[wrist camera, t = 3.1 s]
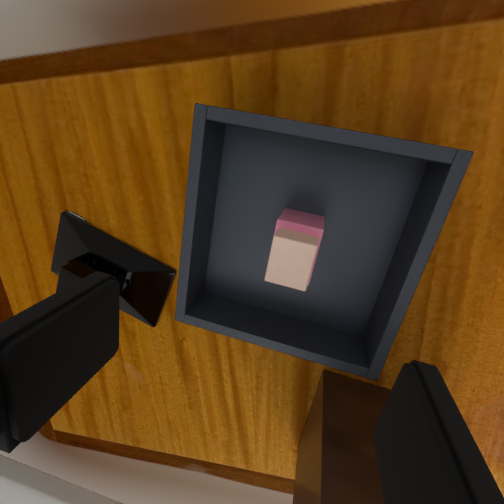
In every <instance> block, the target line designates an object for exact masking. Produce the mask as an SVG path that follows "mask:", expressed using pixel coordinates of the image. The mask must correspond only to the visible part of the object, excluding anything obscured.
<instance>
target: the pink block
mask: <svg viewBox="0 0 504 504" xmlns="http://www.w3.org/2000/svg"><path fill="white" fill-rule="evenodd" d="M323 232H324V216H320V215H316V214H311V213H307V212H302V211H298V210H293V209H289V208H285V209H284V211H283V212H282V213H281V215H280V216H279V218H278V219H277V223H276V227H275V232H274V236H273V241H272V246H271V250H270V255H269V260H268V265H267V269H266V274H265V279H264V280H265V281H268V282H271V283H275V284H279V285H283V286H286V287H290V288H294V289H298V290H301V291H306V288H307V286H308V285H309V283H310V279H311V276H312V272H313V268H314V265H315V261H316V257H317V254H318V250H319V247H320V243H321V239H322V236H323Z"/></svg>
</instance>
